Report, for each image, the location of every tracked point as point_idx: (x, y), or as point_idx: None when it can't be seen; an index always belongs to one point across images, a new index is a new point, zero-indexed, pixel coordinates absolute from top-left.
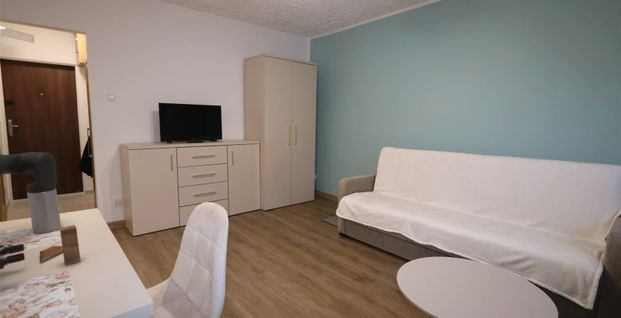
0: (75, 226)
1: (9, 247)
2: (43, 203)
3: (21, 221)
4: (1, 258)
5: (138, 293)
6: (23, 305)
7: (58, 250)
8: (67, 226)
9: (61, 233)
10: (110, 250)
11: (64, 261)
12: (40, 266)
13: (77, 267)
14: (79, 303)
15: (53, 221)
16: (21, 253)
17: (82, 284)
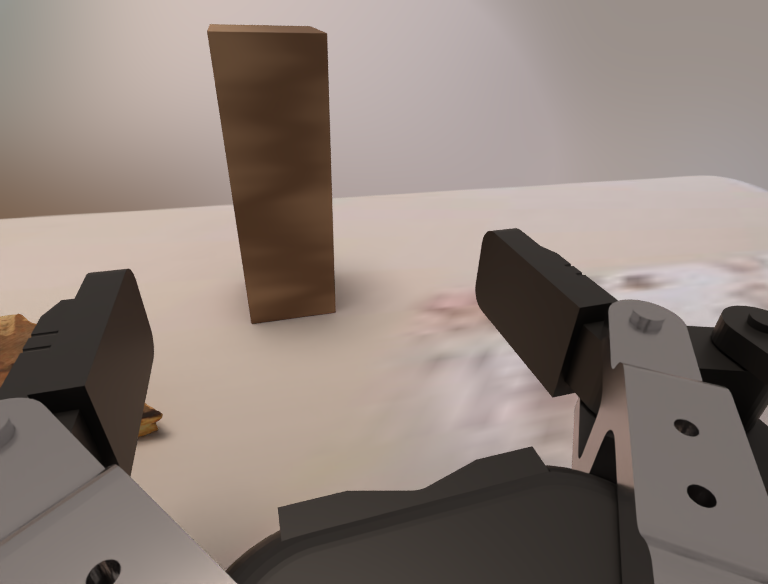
0: (264, 25)
1: (98, 367)
2: None
3: None
4: (679, 328)
5: (672, 181)
6: None
7: (23, 342)
8: (219, 27)
9: (327, 57)
10: None
11: (269, 315)
12: (227, 426)
13: (395, 276)
14: (754, 252)
15: None
16: (515, 231)
17: (598, 254)
